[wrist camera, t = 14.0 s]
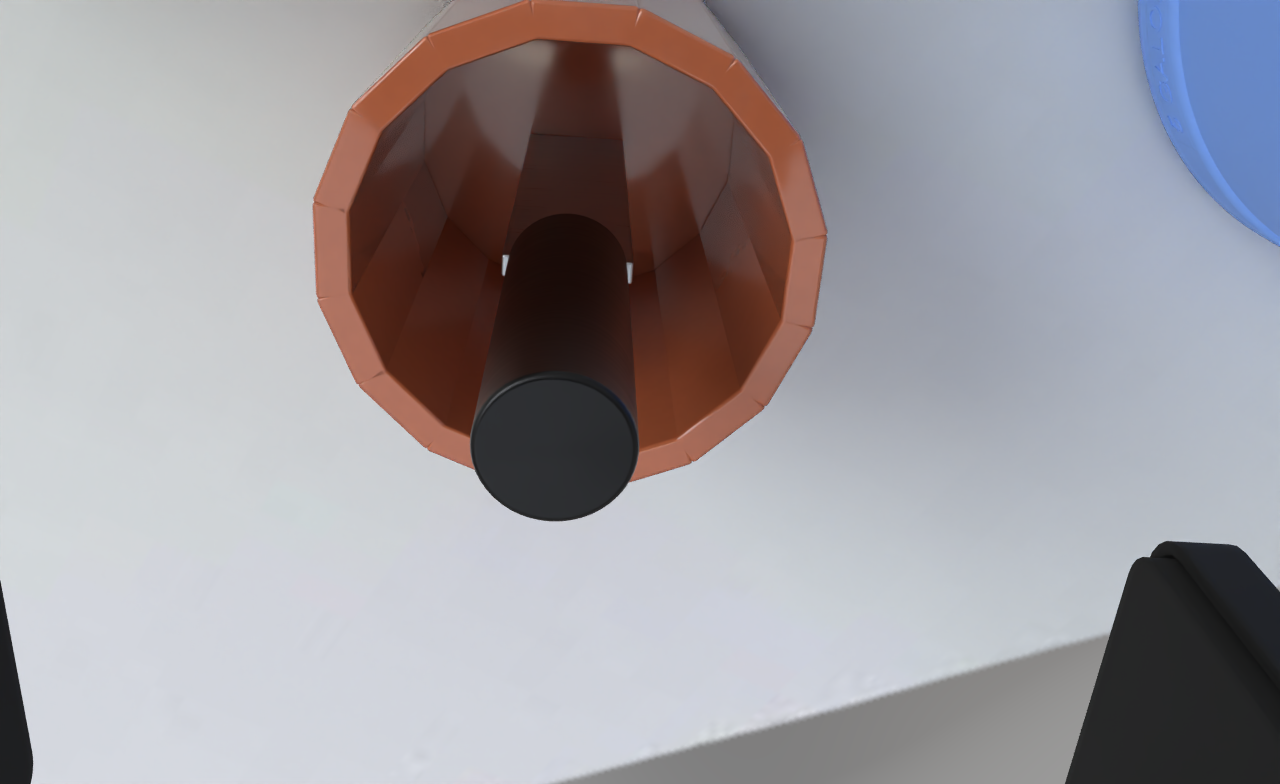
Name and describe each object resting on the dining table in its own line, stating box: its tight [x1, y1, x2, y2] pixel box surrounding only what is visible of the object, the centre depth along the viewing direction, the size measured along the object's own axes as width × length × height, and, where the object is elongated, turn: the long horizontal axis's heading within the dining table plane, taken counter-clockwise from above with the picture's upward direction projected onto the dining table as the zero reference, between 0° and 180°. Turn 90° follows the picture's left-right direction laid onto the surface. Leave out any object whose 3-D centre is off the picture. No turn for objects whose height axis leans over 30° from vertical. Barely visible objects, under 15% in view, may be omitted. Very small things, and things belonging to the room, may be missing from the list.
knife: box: [470, 134, 639, 521], centre depth 21 cm, size 2×2×16 cm
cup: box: [313, 0, 827, 482], centre depth 24 cm, size 8×8×10 cm
